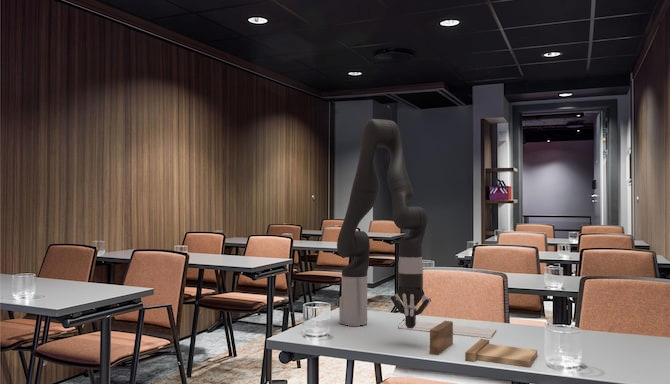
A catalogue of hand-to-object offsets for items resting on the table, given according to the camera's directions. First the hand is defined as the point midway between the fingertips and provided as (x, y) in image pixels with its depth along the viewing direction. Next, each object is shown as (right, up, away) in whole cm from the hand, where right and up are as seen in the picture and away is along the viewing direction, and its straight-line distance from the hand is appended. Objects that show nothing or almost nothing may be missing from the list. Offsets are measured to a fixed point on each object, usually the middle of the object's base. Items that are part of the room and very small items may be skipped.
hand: (410, 327), depth 165 cm
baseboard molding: (+15, -6, +18) cm, 24 cm away
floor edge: (+24, -5, -14) cm, 28 cm away
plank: (+9, -5, -5) cm, 11 cm away
